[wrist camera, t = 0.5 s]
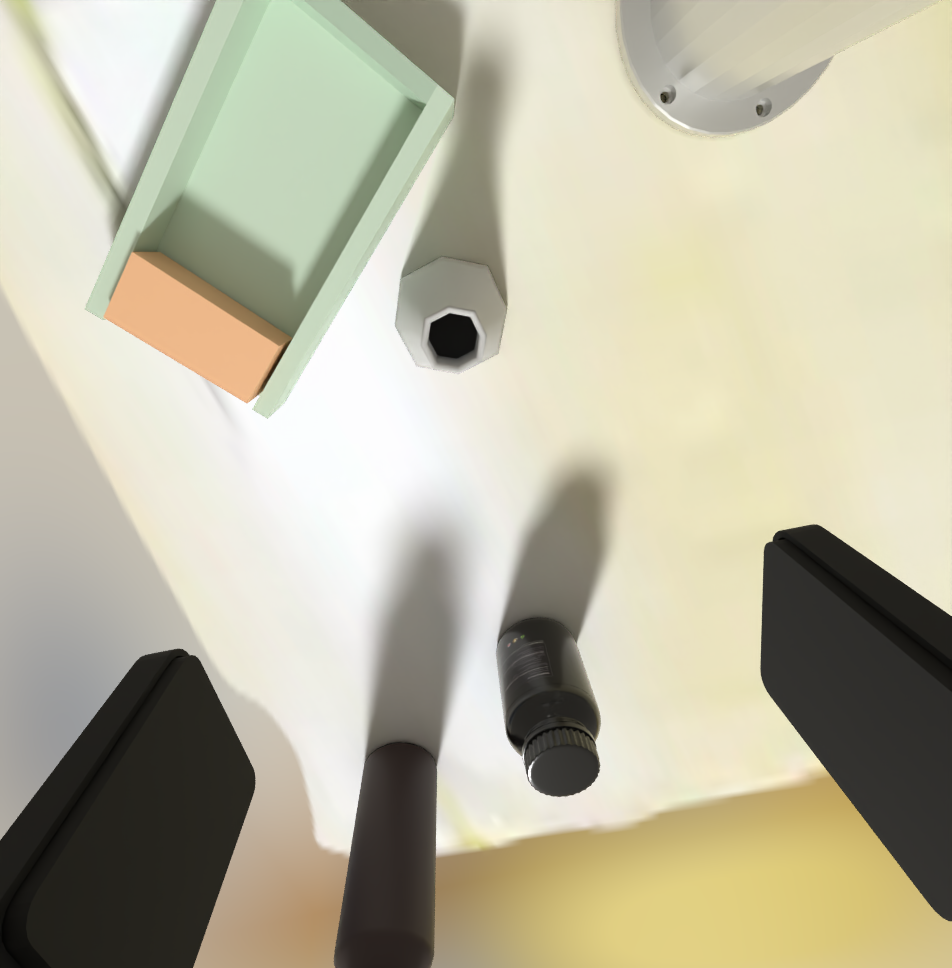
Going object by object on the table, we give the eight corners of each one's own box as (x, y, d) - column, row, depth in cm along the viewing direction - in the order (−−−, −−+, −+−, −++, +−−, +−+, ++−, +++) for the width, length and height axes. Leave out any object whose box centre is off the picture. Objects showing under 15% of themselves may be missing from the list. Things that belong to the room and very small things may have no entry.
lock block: (160, 251, 31) (131, 251, 28) (293, 338, 33) (279, 346, 30) (132, 311, 32) (103, 317, 29) (263, 391, 34) (246, 403, 31)
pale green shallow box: (274, -37, 27) (249, -78, 24) (453, 116, 30) (454, 98, 27) (122, 303, 33) (84, 309, 30) (284, 402, 36) (267, 418, 32)
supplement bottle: (590, 650, 46) (637, 776, 35) (526, 690, 47) (551, 823, 36) (544, 599, 43) (578, 717, 32) (478, 643, 45) (489, 771, 34)
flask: (405, 380, 36) (393, 425, 27) (383, 265, 33) (360, 270, 24) (513, 364, 36) (536, 403, 27) (499, 247, 33) (521, 245, 24)
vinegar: (356, 784, 51) (305, 1086, 32) (374, 734, 48) (330, 1029, 30) (425, 796, 52) (414, 1095, 33) (446, 748, 49) (446, 1040, 31)
